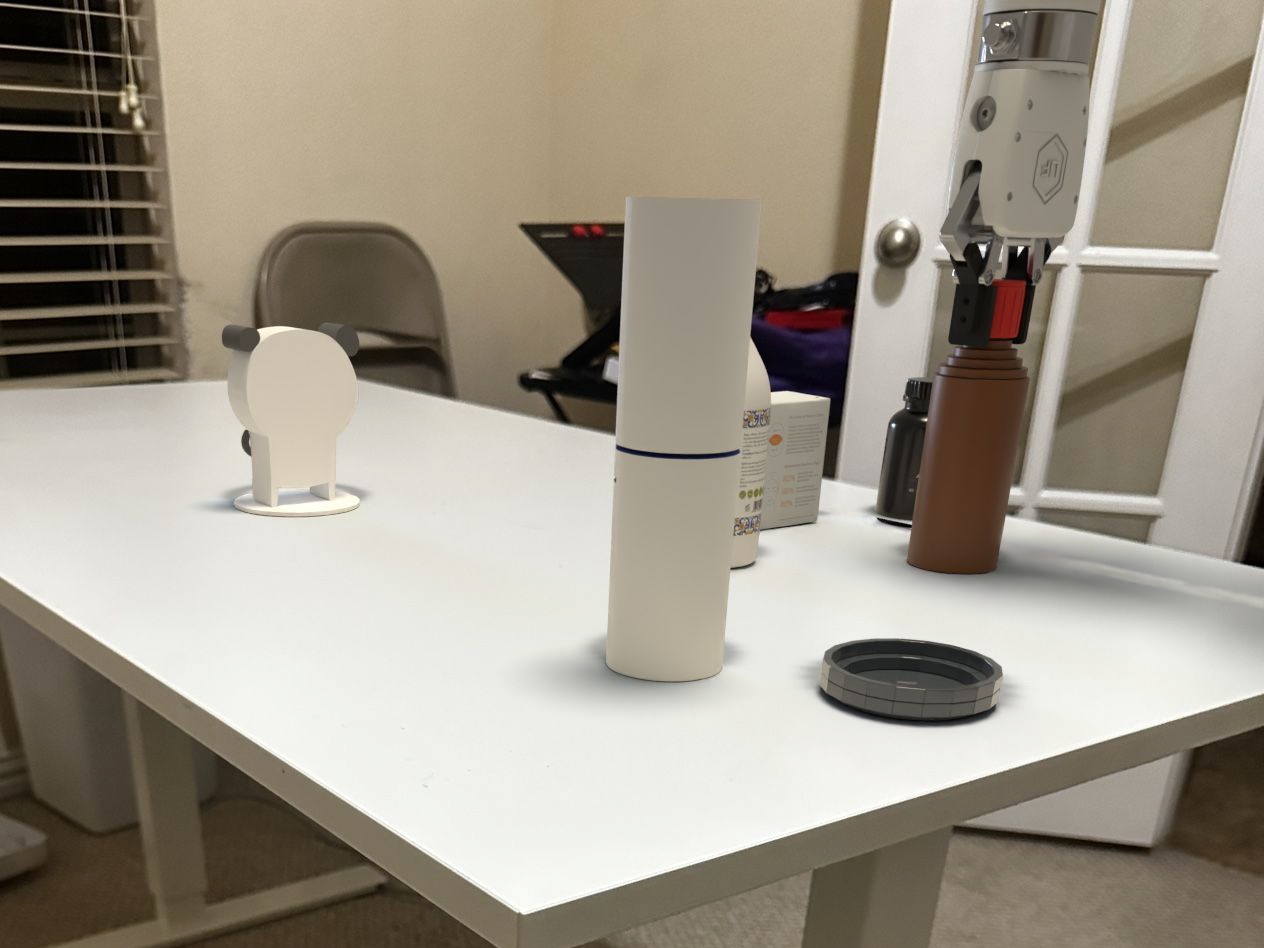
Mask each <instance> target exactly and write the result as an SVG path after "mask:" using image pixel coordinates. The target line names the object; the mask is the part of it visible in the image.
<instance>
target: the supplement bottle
mask: <svg viewBox="0 0 1264 948" xmlns="http://www.w3.org/2000/svg"><path fill="white" fill-rule="evenodd" d="M932 383H933V377H926V376H925V377H924V376H923V377H922V376H921V377H920V376H919V377H918V376H917V377H916V376H915V377H914V376H913V377H907V378H906V382H905V388H904V394H903V395H902V401H903V402H904V407H903V408H902V409H900V410H898V411H896V412H895V413H894V414H893V415H892V416H891V418H890V419H889V420H888V423H887V429H886V434H885V435H886V436H885V443H884V449H883V456H882V462H881V470H880V474H879V475H880V476H879V483H878V489H877V496H876V504H875V511H874V512H875V513H876V514H877V515H879V516H882V517H885V518H882V517H878V516H877V517H875V518H876V520H877V521H878V522H880V523H882V524H885V525H888V526H893V527H898V528H905V529H911V528H912V523H906V522H901V521H911V522H912V521H913V514H914V507H915V500H916V493H917V486H918V479H919V473H920V466H921V459H922V452H923V445H924V438H925V431H926V424H927V418H928V411H929V404H930V397H931V390H932ZM887 518H889V519H887ZM892 519H894V520H892ZM896 520H901V521H896Z"/></svg>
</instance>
